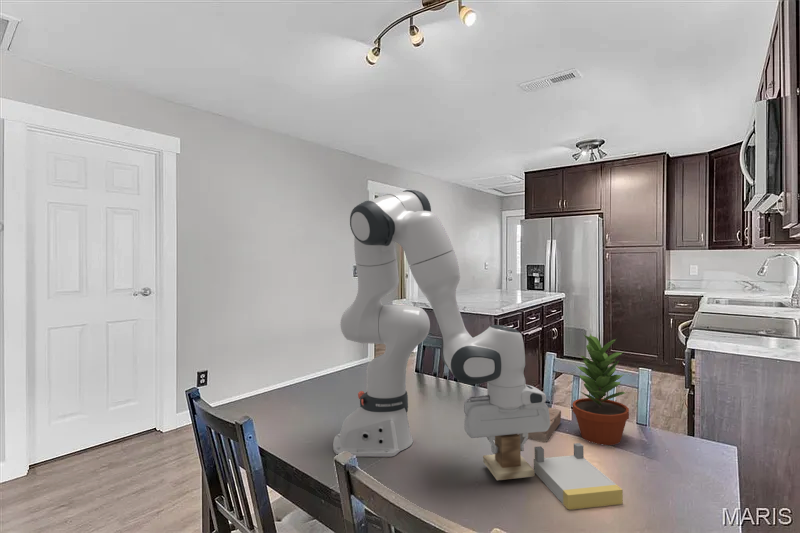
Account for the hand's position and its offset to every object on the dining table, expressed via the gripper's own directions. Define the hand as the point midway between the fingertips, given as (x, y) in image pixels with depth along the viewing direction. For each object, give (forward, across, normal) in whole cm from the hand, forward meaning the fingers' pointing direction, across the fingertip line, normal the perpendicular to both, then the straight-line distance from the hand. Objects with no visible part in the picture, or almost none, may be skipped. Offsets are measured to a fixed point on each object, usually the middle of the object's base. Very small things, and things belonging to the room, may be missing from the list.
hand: (507, 451), depth 102 cm
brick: (+6, +20, +23) cm, 31 cm away
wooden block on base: (+4, 0, 0) cm, 4 cm away
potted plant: (+6, +34, +15) cm, 37 cm away
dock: (+6, +12, -8) cm, 16 cm away
